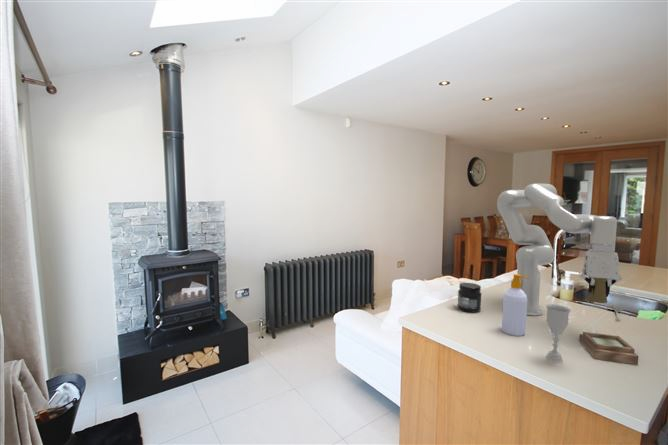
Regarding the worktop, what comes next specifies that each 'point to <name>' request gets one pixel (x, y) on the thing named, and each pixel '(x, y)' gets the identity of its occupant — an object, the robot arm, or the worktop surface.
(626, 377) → the worktop surface
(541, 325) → the worktop surface
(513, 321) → the soap bottle
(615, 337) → the brown wooden flat frame
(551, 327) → the chalice
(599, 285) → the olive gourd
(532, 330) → the worktop surface
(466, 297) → the supplement container
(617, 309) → the soupspoon
